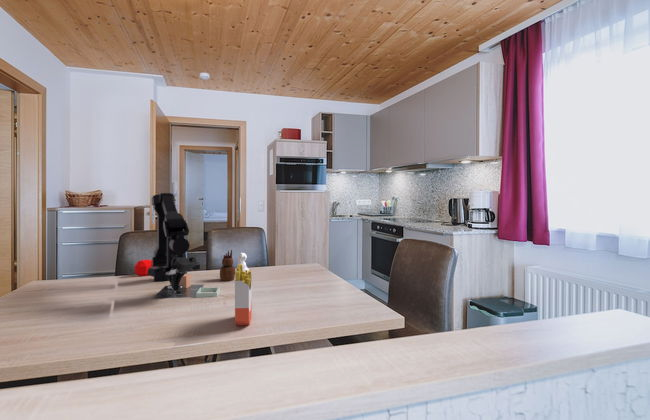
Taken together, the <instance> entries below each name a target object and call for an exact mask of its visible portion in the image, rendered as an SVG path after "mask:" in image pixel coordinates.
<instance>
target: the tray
mask: <svg viewBox="0 0 650 420" xmlns="http://www.w3.org/2000/svg"><path fill="white" fill-rule="evenodd" d="M220 291H221V287H220V286H213V287H211V286H210V287H202V288H200V289H199V290H198V291H197V293H196V297H195V298H213V297H214V298H216V297H218V296H219V294H220Z"/></svg>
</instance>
